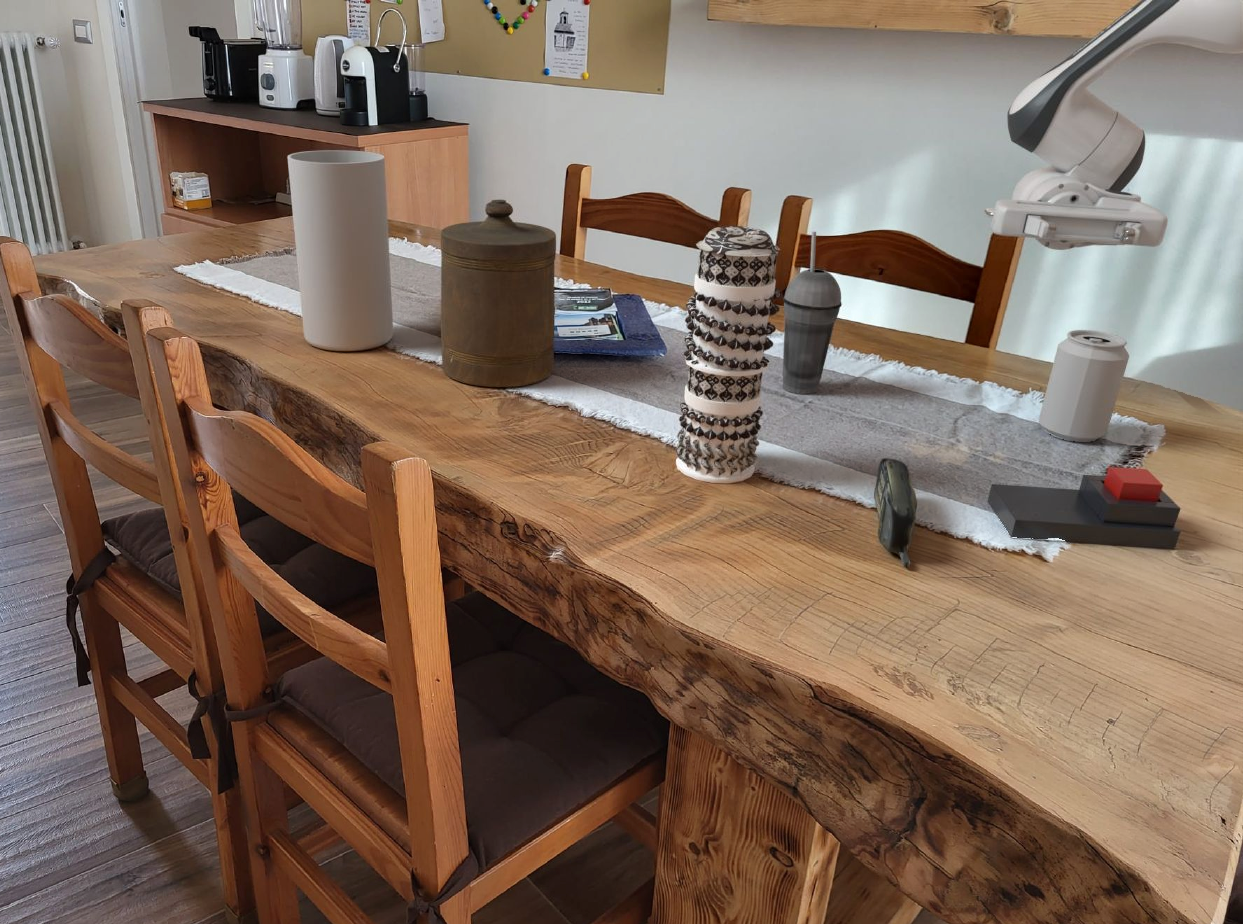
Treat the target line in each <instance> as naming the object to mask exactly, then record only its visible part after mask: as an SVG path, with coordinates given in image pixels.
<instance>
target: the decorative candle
mask: <svg viewBox="0 0 1243 924" xmlns="http://www.w3.org/2000/svg"><path fill="white" fill-rule="evenodd" d="M695 245H696V247H697V248H698V249H699V255H698V260H697V265H698V266H697V268H698V270H697V273H695V274H694V281H693V282H694V284H693V289H694V291H695V293H694V294H693V295H691V296H690V297H689V299H688V301H687V302H686V304H685V308H687V313H688V315H687V316H685V318H684V322H685V323H686V324H685V325H686V329H687V330H689V331H687V335H686V336H685V337H684V342H685V344H686V345H685V346H686V347H685V348H686V349H685V350H684V352H683V356H684V360H685V363H686V365H687V366H689V368H688V371H687V383H686V385H685V386H684V396H683V399H684V400H683V401H681V403H680V404H679V407H680V411H681V413H682V415H680V416H679V418H678V421H679V425H680V427H681V429H679V430H678V432H677V435H676V438H677V441H678V444H677V445H676V448H675V450H676V455H677V458H676V460H675V465H676V468H677V470H678V471H679V472H681V473H682V474H683V475H684V476H686V477H689V478H691V479H694V480H696V481H700V482H706V483H711V484H733V483H739V482H743V481H745V480H747V479H749V478H752V476H753V474H754V473H755V469H756V467H755V465H754V464H755V462H756V461H755V460H757V459H758V455H757V454H756V452H757V447H759V445H760V441H759V440H758V436H757V435H758V434H759V431H761V428H762V425H761V424H760V419H761V417H762V416H763V414H764V411H763V410H762V408H761V401H762V390H761V387H762V379H763V373H764V372H766V370H767V369H768V367H769V363H770V360H769V359H768V358H766V356H765V355H764V353H765V352H766V351H768V350H770V349H772V347H773V346H774V342H773V340H771V339H770V338H769V336H770V335H772V334H773V333H774V332H776V326H775V325H774V324H772V323H771V320H770V321H768V320H769V319H770V318H771V316H772V317H773V316H774V315H777V314H778V313H779V312H780V306H778V305H777V304H776V302H774V301H775V300H777V299H779V298H780V297H782V294H783V293H782V291H780V290H778V288H776V284H777V281H776V279H775V278H776V277H775V275H776V268H777V261H778V254H779V252H780V251H781V249H780V248H779V246H777V245H775V244H774V241H773V239H772V238H771V236H770V234H768V233H767V232H766V231H765V230H762V229H760V228H756V227H751V226H742V225H724V226H723V225H722V226H718V227H714V228H712V229H711V230H709V232H708V233H707V234H706V235H705V237H704V239H703V240H700V241H698V242H697V243H695Z"/></svg>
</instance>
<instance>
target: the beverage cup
mask: <svg viewBox="0 0 1243 924" xmlns="http://www.w3.org/2000/svg"><path fill="white" fill-rule="evenodd" d="M816 243H817V231H811V244H810V247H811V248H810V265H809V266H810V268H808V269H805V270H802V271H801V272H799V273H798V274H796V275H795V276H794V277H793V278H792V279H791V280H790V281H789V283H788V284H787V287H786V290H785V292H784V296H783V298H782V301H783V316H784V332H783V353H782V354H783V355H782V389H783V390H785V391H787V392H788V393H792V394H797V395H812V394H816V393H817V392H818V390H819V385H820V381H821V379H822V375H823V372H824V368H825V362H826V360H827V355H828V352H829V347H830V343H831V338H832V334H833V330H834V326H835V324H836V321H837V319H838V316H839V314H840V308H841V307H842V305H843V303H842V291H841V287H840V285H839V283H838V281H837V279H836V278H835V277H834V275H832V274H831V273H830V272H828V271H826V270H825V269H821V268H815V266H816V245H817V244H816Z"/></svg>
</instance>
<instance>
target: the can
mask: <svg viewBox="0 0 1243 924" xmlns="http://www.w3.org/2000/svg"><path fill="white" fill-rule="evenodd" d="M1066 336H1067V338H1065V339H1064V340H1061V342H1059V344H1057V347H1056V352H1055V356H1054V359H1053V363H1052V367H1051V371H1050V375H1049V379H1048V382H1047V385H1046V390H1045V394H1044V398H1043V400H1042V406H1041V409H1040V412H1039V417H1038V423H1039V424H1040V426H1041V427H1042V428H1043V430H1044V431H1045V432H1046V434H1047V435H1050V434H1051V435H1050V436H1052V437H1054V438H1057V439H1060V440H1063V439H1064V440H1063V441H1068V442H1073V441H1075V442H1074V443H1092V442H1095V441H1097V439H1100V438H1102V437H1104V436H1105V435H1106V434H1107V433H1108V431H1109V426H1110V423H1111V419H1112V417H1113V414H1114V410H1115V406H1116V403H1117V399H1118V396H1119V393H1120V389H1121V386H1122V383H1123V379H1124V376H1125V373H1126V369H1127V366H1128V363H1129V360H1130V354H1129V352H1128V351H1127V349H1126V348H1125V346H1127V344H1128V342H1127V340H1126V339H1125V338H1124V337H1121V336H1118V335H1117V334H1113V333H1109V332H1105V331H1100V330H1093V329H1074V330H1070V331H1068V332H1067V333H1066ZM1091 441H1092V442H1091Z"/></svg>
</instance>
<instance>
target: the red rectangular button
mask: <svg viewBox="0 0 1243 924" xmlns="http://www.w3.org/2000/svg"><path fill="white" fill-rule="evenodd" d="M1105 476H1106V478H1105V481H1104V485H1105V486H1106V487H1107V489H1108V490H1109V491H1110V492H1111V493H1112V494H1113V495H1114V496H1115V497H1116V499H1122V500H1137V501H1151V502H1158V499H1159V496H1160V493H1161V490H1163V487H1164V484H1162V482H1161V481H1159V480H1158V478H1157V477H1156V476H1154V475H1153V474H1152V473H1151V472H1150V471H1149V470H1148V469H1147V468H1134V467H1132V468H1131V467H1118V466H1117V467H1116V466H1108V469H1107V471H1106V475H1105Z"/></svg>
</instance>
